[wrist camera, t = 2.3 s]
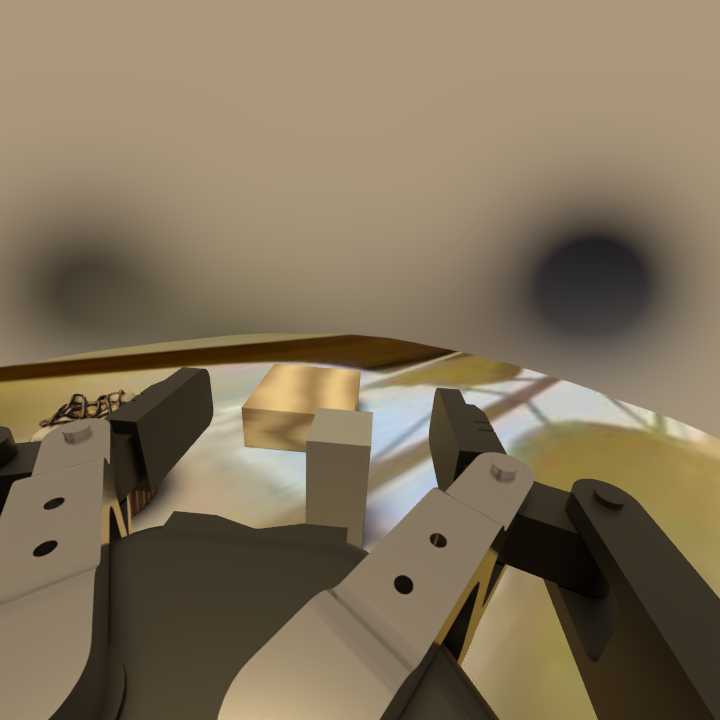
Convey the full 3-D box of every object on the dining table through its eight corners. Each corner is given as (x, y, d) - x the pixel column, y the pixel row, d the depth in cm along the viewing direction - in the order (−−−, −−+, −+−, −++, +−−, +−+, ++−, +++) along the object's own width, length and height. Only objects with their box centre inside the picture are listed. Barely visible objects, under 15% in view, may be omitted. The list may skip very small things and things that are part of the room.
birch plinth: (244, 446, 38) (241, 407, 36) (275, 395, 49) (274, 363, 48) (351, 456, 38) (353, 417, 36) (358, 402, 49) (360, 371, 47)
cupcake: (163, 451, 37) (147, 366, 33) (175, 513, 29) (156, 413, 26) (45, 482, 32) (10, 386, 28) (25, 567, 24) (-27, 452, 21)
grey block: (305, 543, 28) (306, 440, 24) (315, 501, 32) (317, 407, 28) (361, 549, 27) (371, 446, 24) (364, 505, 32) (372, 412, 28)
